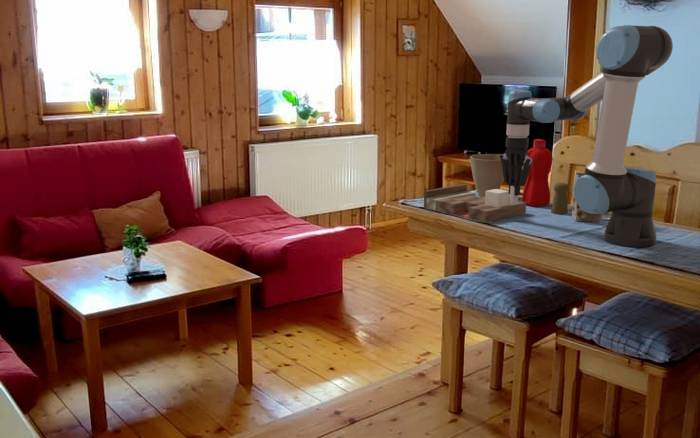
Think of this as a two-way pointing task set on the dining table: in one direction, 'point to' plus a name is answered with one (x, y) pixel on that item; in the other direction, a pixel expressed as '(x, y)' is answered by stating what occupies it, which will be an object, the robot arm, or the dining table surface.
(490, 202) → the block
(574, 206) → the coffee box
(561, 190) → the cork
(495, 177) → the plant pot
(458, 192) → the wooden board
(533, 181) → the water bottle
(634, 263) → the dining table surface
